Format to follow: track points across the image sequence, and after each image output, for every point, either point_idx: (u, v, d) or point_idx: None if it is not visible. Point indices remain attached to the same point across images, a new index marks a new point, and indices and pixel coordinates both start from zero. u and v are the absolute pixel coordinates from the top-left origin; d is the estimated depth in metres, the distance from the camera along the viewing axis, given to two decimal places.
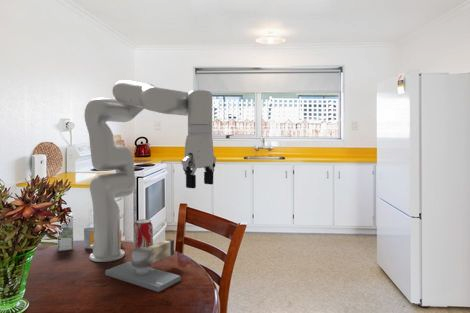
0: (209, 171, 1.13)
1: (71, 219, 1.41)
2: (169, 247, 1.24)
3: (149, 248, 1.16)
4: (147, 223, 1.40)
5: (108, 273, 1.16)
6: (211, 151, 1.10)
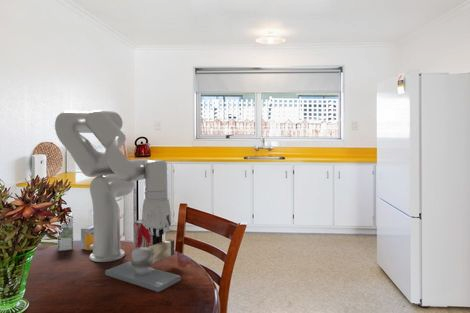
0: None
1: (71, 219, 1.41)
2: (169, 247, 1.24)
3: (149, 248, 1.16)
4: None
5: (108, 273, 1.16)
6: None
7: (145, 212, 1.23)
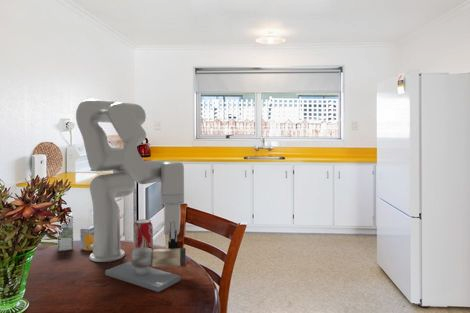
0: (174, 240, 1.19)
1: (71, 219, 1.41)
2: (178, 256, 1.14)
3: (150, 250, 1.14)
4: (147, 223, 1.40)
5: (108, 273, 1.16)
6: None
7: None
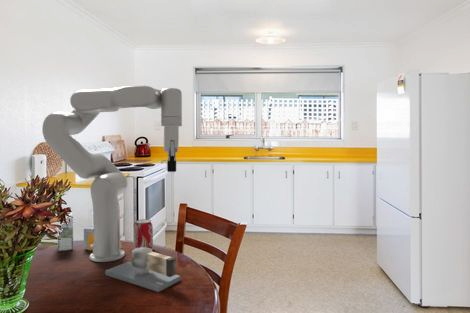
0: None
1: (71, 219, 1.41)
2: (164, 265, 1.07)
3: (146, 252, 1.12)
4: (147, 223, 1.40)
5: (108, 273, 1.16)
6: None
7: None
